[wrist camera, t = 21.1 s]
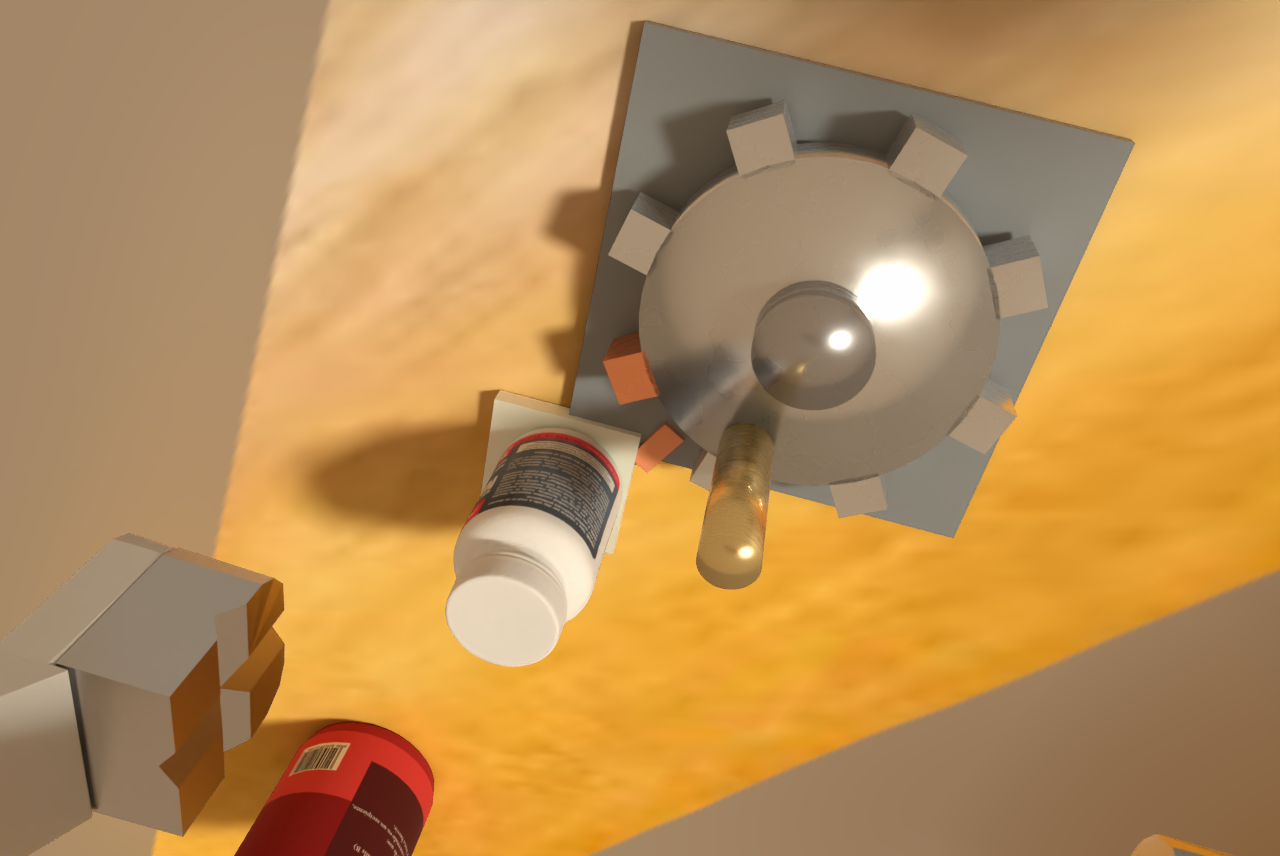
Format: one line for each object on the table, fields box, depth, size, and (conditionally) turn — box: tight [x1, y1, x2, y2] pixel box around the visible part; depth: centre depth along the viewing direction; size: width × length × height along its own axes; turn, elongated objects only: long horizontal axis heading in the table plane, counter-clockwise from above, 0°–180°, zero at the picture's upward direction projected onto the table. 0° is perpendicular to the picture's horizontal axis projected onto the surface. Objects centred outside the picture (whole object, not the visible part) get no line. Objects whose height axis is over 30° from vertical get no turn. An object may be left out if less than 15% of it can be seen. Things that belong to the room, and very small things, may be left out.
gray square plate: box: [569, 20, 1135, 538], centre depth 37 cm, size 16×17×1 cm
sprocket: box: [603, 100, 1048, 589], centre depth 32 cm, size 15×15×9 cm
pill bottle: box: [445, 428, 623, 666], centre depth 38 cm, size 5×5×9 cm
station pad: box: [481, 390, 642, 555], centre depth 42 cm, size 6×6×1 cm
